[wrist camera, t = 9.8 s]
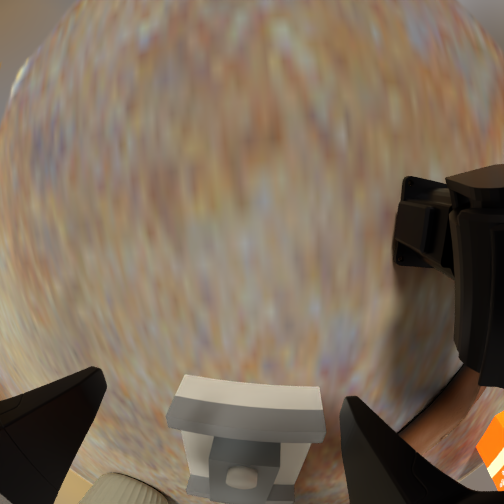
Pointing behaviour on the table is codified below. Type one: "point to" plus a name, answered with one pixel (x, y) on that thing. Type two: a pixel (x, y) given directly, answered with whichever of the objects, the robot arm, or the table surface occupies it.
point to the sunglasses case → (444, 411)
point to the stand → (246, 425)
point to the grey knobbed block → (242, 470)
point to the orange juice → (494, 450)
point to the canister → (121, 491)
